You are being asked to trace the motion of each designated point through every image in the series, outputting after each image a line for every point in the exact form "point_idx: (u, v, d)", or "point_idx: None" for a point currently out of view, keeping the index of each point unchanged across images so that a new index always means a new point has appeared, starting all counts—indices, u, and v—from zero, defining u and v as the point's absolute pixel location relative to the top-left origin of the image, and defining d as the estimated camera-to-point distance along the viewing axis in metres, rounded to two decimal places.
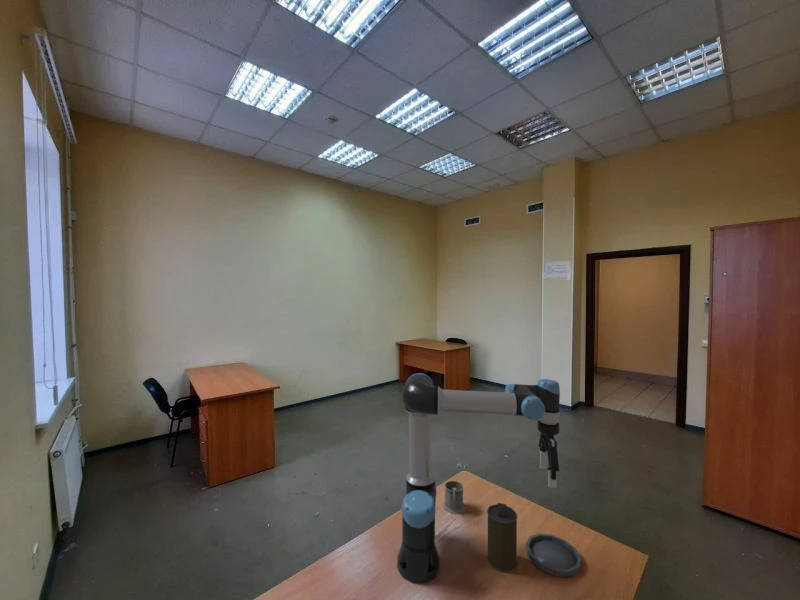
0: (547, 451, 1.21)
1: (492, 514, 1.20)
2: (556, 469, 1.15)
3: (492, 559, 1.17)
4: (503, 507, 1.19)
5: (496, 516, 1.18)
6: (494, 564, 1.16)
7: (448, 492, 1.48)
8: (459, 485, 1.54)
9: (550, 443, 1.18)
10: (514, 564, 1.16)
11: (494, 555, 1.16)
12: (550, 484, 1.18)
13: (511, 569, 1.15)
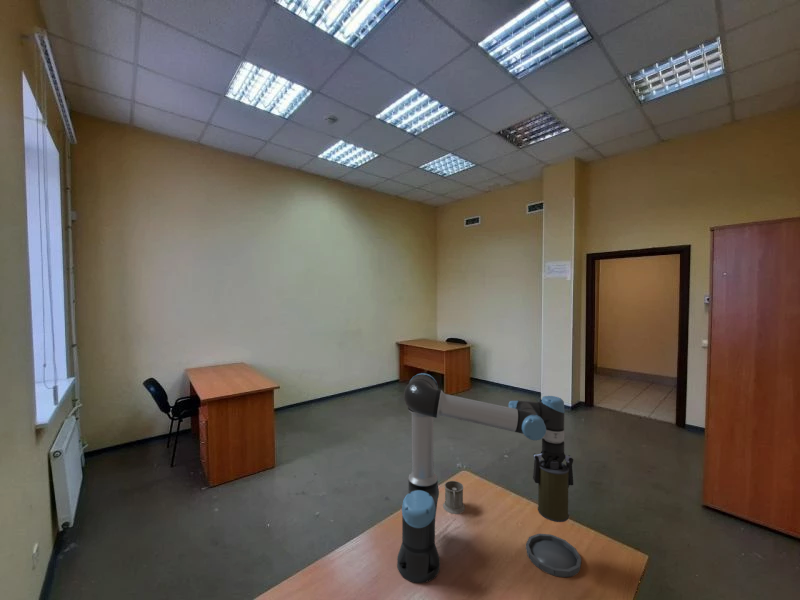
0: None
1: (543, 467, 1.21)
2: (534, 479, 1.22)
3: (544, 510, 1.19)
4: None
5: (548, 468, 1.20)
6: (547, 515, 1.18)
7: (448, 492, 1.48)
8: (459, 485, 1.54)
9: None
10: (566, 515, 1.18)
11: (547, 506, 1.18)
12: None
13: (564, 519, 1.17)
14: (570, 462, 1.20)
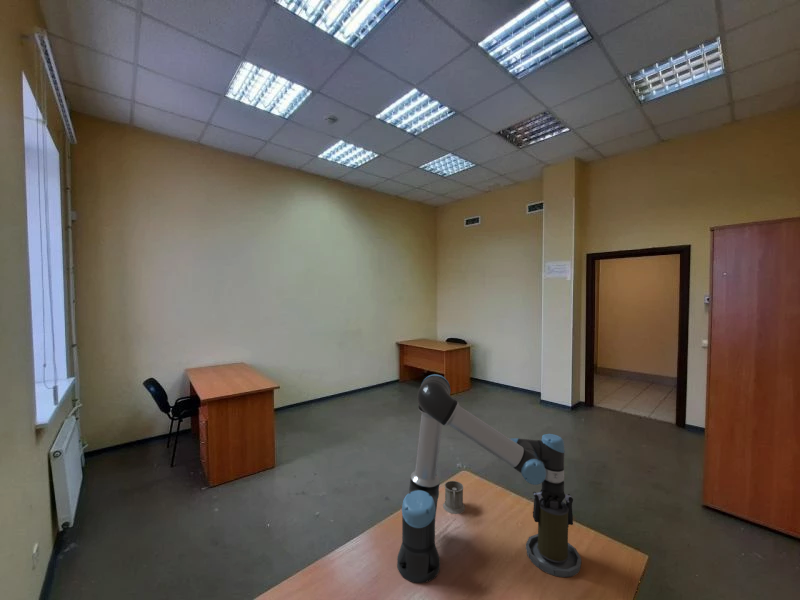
0: (544, 504, 1.23)
1: (543, 506, 1.21)
2: (534, 518, 1.22)
3: (544, 550, 1.19)
4: (554, 499, 1.21)
5: (548, 508, 1.20)
6: (546, 555, 1.18)
7: (448, 492, 1.48)
8: (459, 485, 1.54)
9: (533, 494, 1.23)
10: (566, 555, 1.18)
11: (546, 546, 1.18)
12: None
13: (564, 560, 1.17)
14: (570, 502, 1.20)
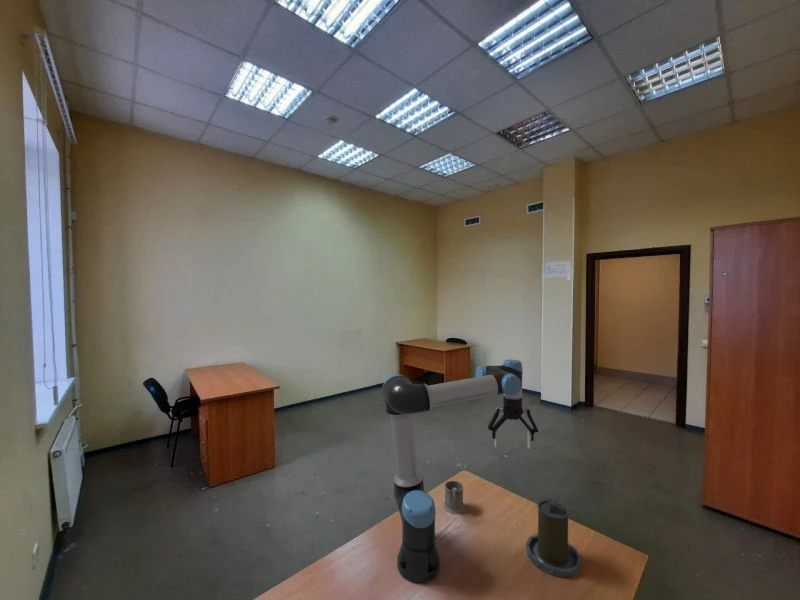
0: None
1: (543, 510, 1.21)
2: (488, 427, 1.40)
3: (544, 554, 1.19)
4: (554, 502, 1.20)
5: (547, 512, 1.20)
6: (546, 559, 1.18)
7: (448, 492, 1.48)
8: (459, 485, 1.54)
9: None
10: (566, 559, 1.18)
11: (546, 550, 1.18)
12: None
13: (564, 564, 1.17)
14: (528, 413, 1.37)
